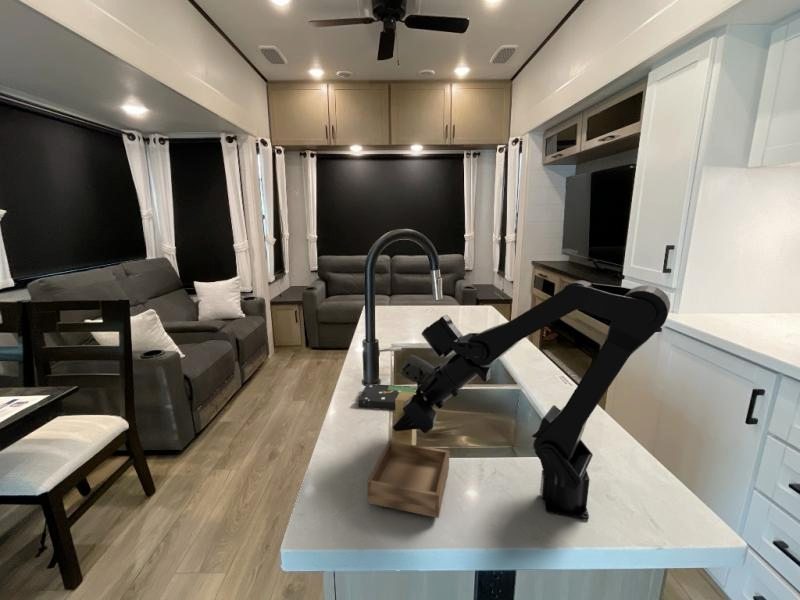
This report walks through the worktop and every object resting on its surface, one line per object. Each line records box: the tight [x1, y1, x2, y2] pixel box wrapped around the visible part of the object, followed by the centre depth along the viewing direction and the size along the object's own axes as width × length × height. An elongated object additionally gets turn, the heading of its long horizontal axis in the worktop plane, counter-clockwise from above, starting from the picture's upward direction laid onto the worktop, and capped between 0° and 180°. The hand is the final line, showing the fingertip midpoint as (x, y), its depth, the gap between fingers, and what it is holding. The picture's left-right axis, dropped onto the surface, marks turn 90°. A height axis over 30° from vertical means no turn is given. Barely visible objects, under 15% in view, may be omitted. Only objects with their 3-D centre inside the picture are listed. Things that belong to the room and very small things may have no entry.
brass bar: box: [394, 391, 417, 446], centre depth 75 cm, size 4×4×12 cm
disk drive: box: [357, 383, 417, 411], centre depth 98 cm, size 10×3×15 cm
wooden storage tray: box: [366, 440, 450, 519], centre depth 64 cm, size 12×12×5 cm
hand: (399, 418), depth 75 cm, fingers open, 8 cm apart
